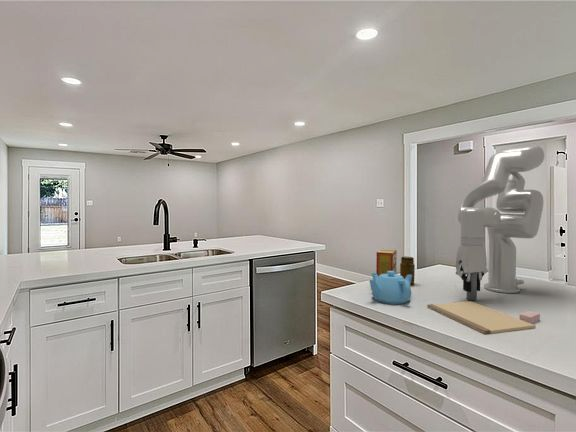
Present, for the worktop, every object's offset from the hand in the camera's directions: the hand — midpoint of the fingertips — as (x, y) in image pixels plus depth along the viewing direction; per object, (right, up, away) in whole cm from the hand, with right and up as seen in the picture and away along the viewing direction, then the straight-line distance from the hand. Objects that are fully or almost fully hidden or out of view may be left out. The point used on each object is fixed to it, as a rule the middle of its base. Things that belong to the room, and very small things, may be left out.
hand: (471, 290), depth 122 cm
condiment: (-15, -3, +24) cm, 29 cm away
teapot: (-30, -4, +2) cm, 30 cm away
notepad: (-8, -4, -18) cm, 20 cm away
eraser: (+6, -5, -21) cm, 23 cm away
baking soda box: (-26, -3, +19) cm, 33 cm away
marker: (0, -3, 0) cm, 3 cm away
